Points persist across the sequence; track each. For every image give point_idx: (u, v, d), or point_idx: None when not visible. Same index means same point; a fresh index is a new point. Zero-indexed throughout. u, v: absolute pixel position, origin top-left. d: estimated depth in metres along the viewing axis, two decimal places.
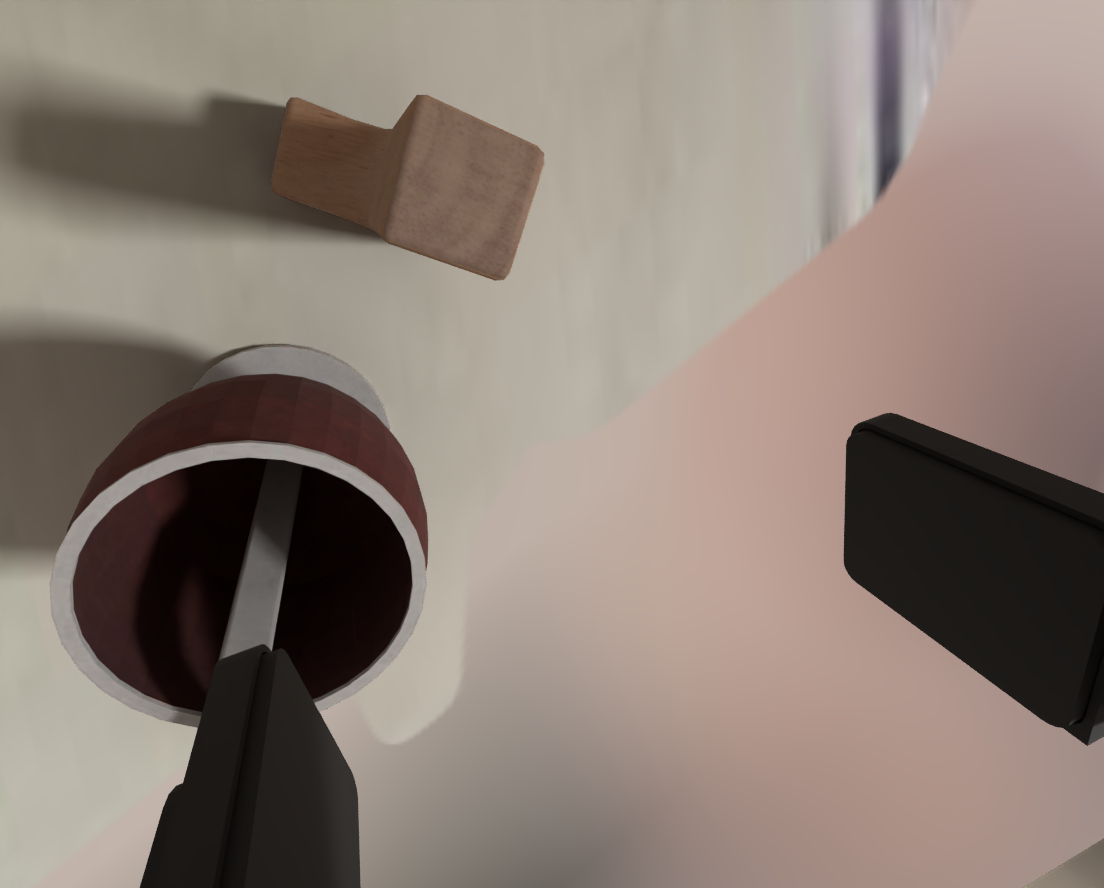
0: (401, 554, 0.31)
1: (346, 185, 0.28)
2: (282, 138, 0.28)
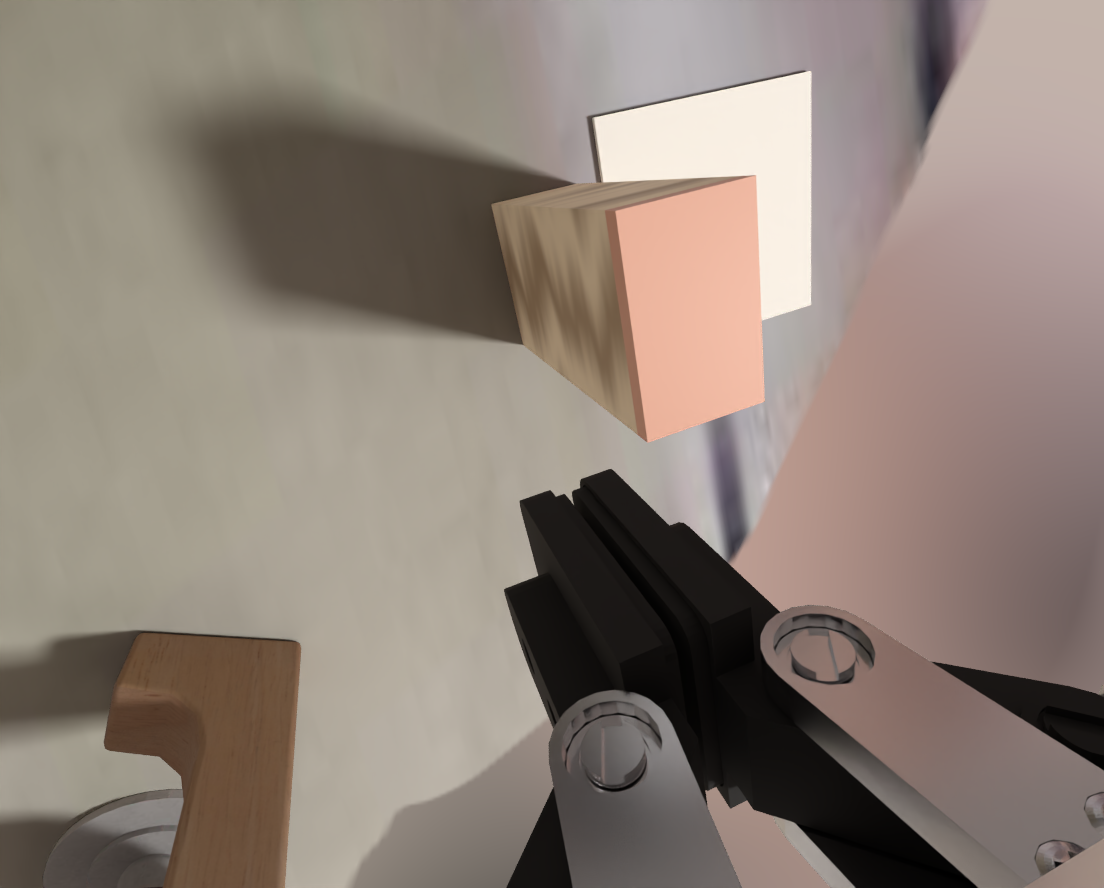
0: None
1: (172, 747, 0.31)
2: (111, 714, 0.31)
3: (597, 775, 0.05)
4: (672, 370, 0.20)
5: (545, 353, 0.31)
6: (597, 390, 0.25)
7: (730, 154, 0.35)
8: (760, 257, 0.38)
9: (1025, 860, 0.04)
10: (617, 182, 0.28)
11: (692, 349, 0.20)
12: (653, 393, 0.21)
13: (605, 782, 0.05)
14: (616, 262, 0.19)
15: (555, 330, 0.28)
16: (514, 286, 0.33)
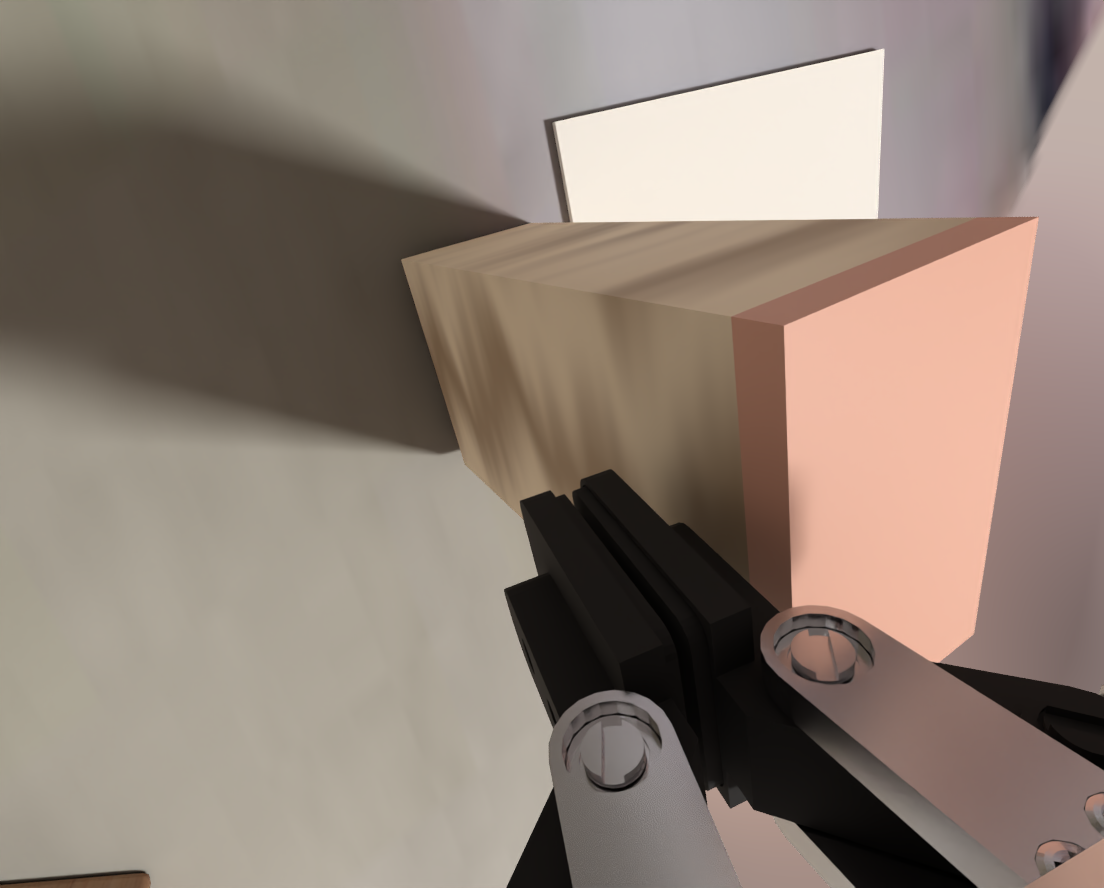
0: None
1: None
2: None
3: (597, 775, 0.05)
4: None
5: (510, 496, 0.19)
6: None
7: (763, 174, 0.23)
8: None
9: (1024, 860, 0.04)
10: (617, 223, 0.17)
11: (888, 587, 0.09)
12: None
13: (605, 782, 0.05)
14: (757, 438, 0.08)
15: (534, 477, 0.16)
16: (448, 385, 0.21)
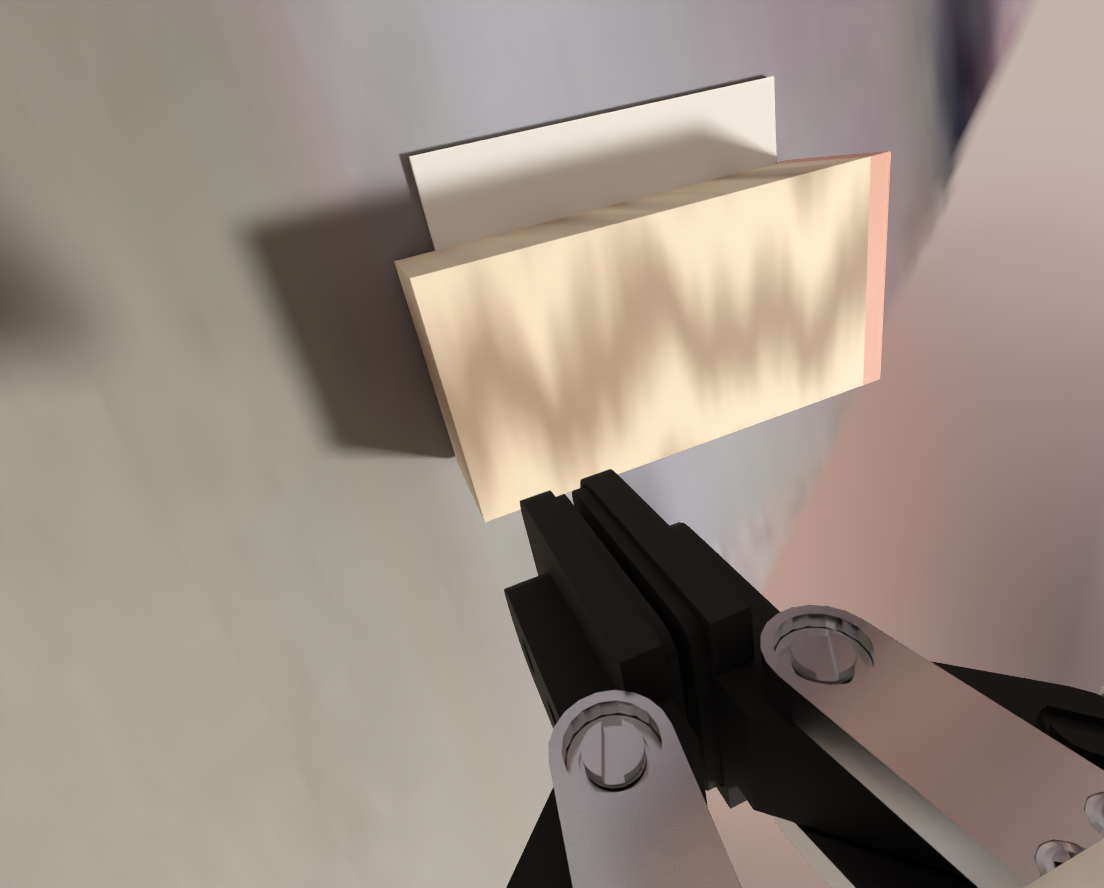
0: None
1: None
2: None
3: (597, 775, 0.05)
4: None
5: (609, 460, 0.20)
6: (783, 396, 0.21)
7: None
8: None
9: (1025, 860, 0.04)
10: (554, 220, 0.21)
11: None
12: None
13: (605, 782, 0.05)
14: (877, 205, 0.20)
15: (671, 389, 0.20)
16: (490, 410, 0.18)
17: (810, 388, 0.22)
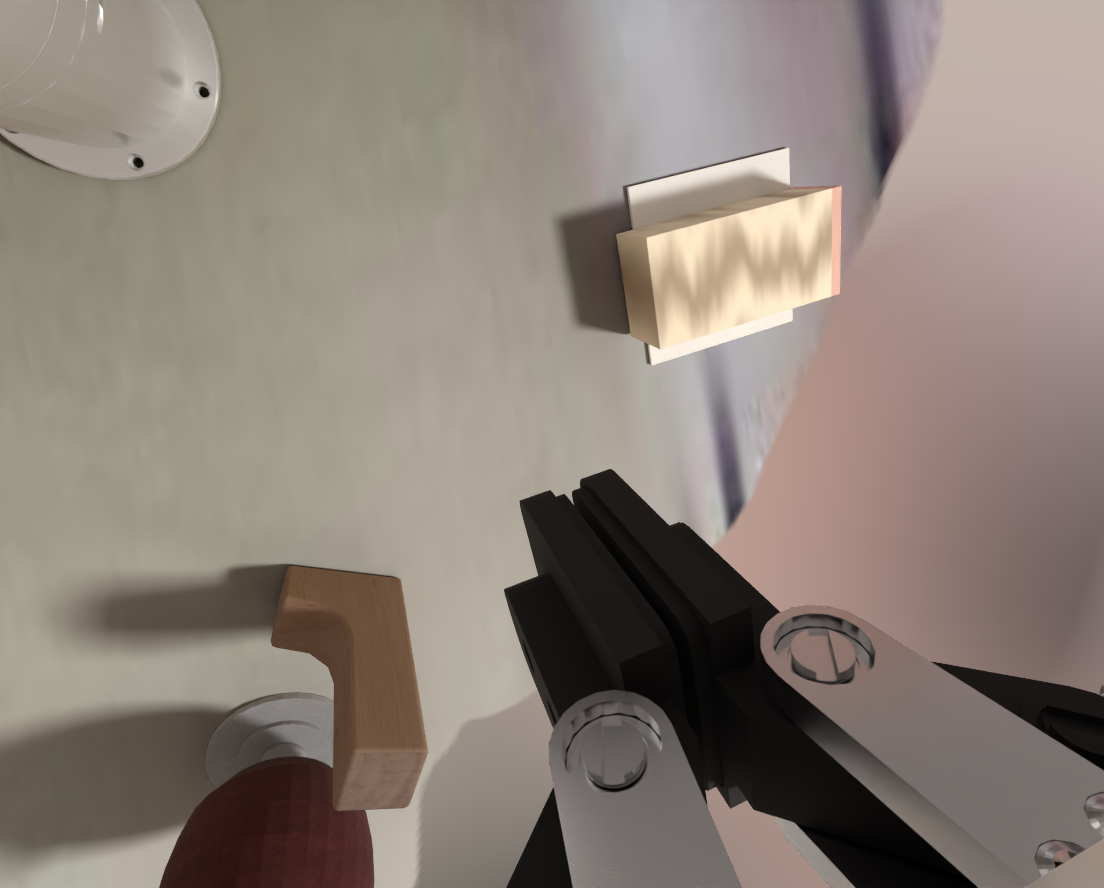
0: None
1: (321, 645, 0.43)
2: (279, 619, 0.42)
3: (597, 775, 0.05)
4: None
5: (714, 324, 0.44)
6: (793, 299, 0.45)
7: None
8: None
9: (1024, 860, 0.04)
10: (685, 216, 0.45)
11: None
12: None
13: (605, 782, 0.05)
14: (835, 209, 0.44)
15: (742, 292, 0.44)
16: (668, 296, 0.42)
17: (805, 296, 0.46)
